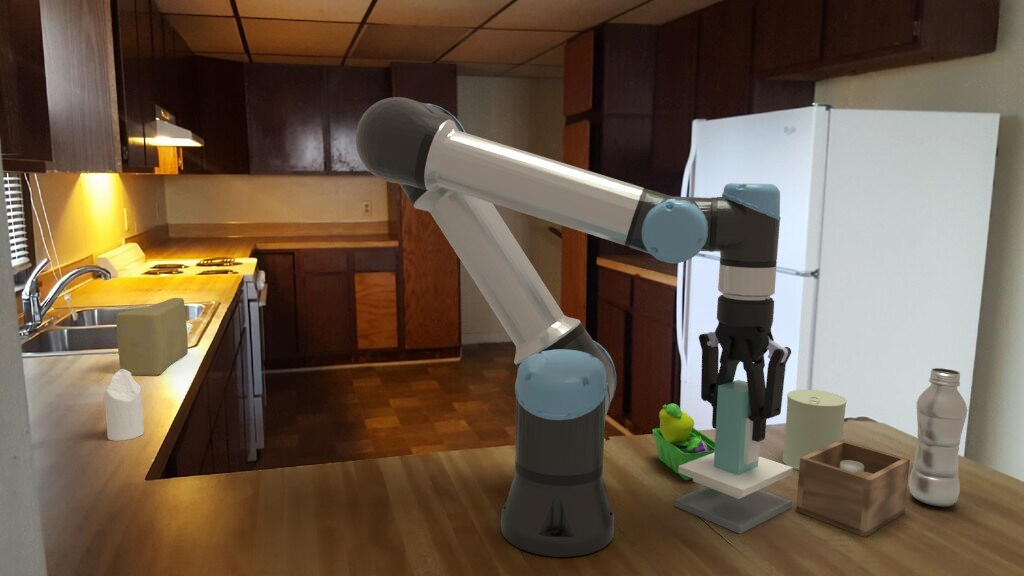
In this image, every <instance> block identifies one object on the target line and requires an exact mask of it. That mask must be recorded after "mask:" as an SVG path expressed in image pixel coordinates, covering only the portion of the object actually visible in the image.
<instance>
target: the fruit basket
mask: <svg viewBox="0 0 1024 576" xmlns="http://www.w3.org/2000/svg"><path fill="white" fill-rule="evenodd" d="M658 417H659V428H658V427H657V428H653V429H652V431H651V432H652V435H653V437H654V440H655V444H656V449H657V454H658V457H659V458H658V459H659V461H661V462H662V463H664V464H665V466H667V467H668V468H669V469H672V471H673V472H674V473H676V474H677V475H679V476H680V477H681V478H682V479H684V481H689V480H693V478H691V477H688V476H686V475H683V474H681V473H678V467H679V466H680V465H683V464H685V463H688V462H690V461H693V460H696V459H698V458H701V457H704V456H706V455H709V454H712V453H714V452H715V440H713V439H711V438H710V437H708V436H707V435H706V434H704V433H702V432H701V431H699V430H697V429H696V428H695V427H694V426H695V421H694V418H693V417H691V416H690V415H689V414H688V413H687V412H685V411H683V410H682V409H681V407H679V405H678V404H676V403H669V404H664V405H662V409H660V411H659V415H658Z"/></svg>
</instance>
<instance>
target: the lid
mask: <svg viewBox="0 0 1024 576" xmlns="http://www.w3.org/2000/svg"><path fill="white" fill-rule="evenodd" d="M748 416H751V409H750V400H749V392H748V384H747V381H746V380H745V381H744V380H740V379H737V380H734V381H733V382H729V383H726V384H722V385H719V386H718V398H717V416H716V429H715V435H714V436H715V437H714V438H715V439H714V442H715V452H714V453H712V454H709V455H706V456H704V457H701V458H698V459H696V460H693V461H690V462H688V463H685V464H683V465H680V466H679V467H678V473H681V474H683V475H686V476H688V477H691V478H693V479H692V482H694V483H696V484H699V485H701V486H703V487H704V486H706V487H709V488H712V489H714V490H717V491H719V492H722V493H725V494H727V495H730V496H732V497H735V498H738V499H740V498H742V497H744V496H746V495H749V494H751V493H753V492H755V491H757V490H759V489H760V490H762V489H763V488H766V487H768V486H770V485H773V484H774V483H776V482H779V481H781V480H783V479H785V478H787V477H790V476H792V475H794V469H793V467H790V466H787V465H786V464H785V463H780V462H777V461H774V460H771V459H768V458H765V457H762V456H760V455H759V460H757V461H755V462H752V463H750V464H745V463H743V459H744V443H745V427H746V418H748Z"/></svg>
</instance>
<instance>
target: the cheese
mask: <svg viewBox="0 0 1024 576" xmlns="http://www.w3.org/2000/svg"><path fill="white" fill-rule="evenodd" d="M184 300H185V299H184V298H181V297H172V298H169V299H166V300H163V301H162V302H158V303H155V304H151V305H149V306H146V307H142V308H137V309H131V310H125V311H121V312H118V313H116V315H115V322H116V323H115V324H116V339H117V341H116V342H117V350H118V359H119V367H120V368H119V370H120V369H125V370H127V371H129V372H131V376H144V377H145V376H147V377H153V376H154V377H155V376H160V375H161V374H162V373H163V372H164V371H165V370H167V369H168V368H169V366H171V365H172V364H174V363H175V362H178V361H179V360H181V359H182V358H184V357H185V356H186V355H188V353H189V352H188V351H189V345H188V344H189V343H188V326H187V318H186V317H187V316H186V309H185V308H186V305H185V301H184Z"/></svg>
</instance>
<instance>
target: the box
mask: <svg viewBox="0 0 1024 576" xmlns="http://www.w3.org/2000/svg"><path fill="white" fill-rule="evenodd" d="M910 462H911V460H910V458H906V457H902V456H899V455H896V454H892V453H889V452H884V451H881V450H878V449H875V448H871V447H868V446H864V445H860V444H857V443H853V442H850V441H846V440H843V439H842V440H840V441H838V442H835V443H833V444H831V445H829V446H826V447H824V448H822V449H819V450H817V451H815V452H813V453H810V454H808V455H806V456H803V457H801V458H800V466H799V470H798V478H797V479H798V480H797V494H796V506H795V511H796V512H797V513H800V514H803V515H805V516H808V517H810V518H814V519H816V520H818V521H822V523H823V522H824V523H826V524H830V525H831V526H834V527H838V528H840V529H843V530H845V531H847V532H850V533H853V534H855V535H858V536H861V537H863V538H867V537H869V536H870V535H871V534H873V533H875V532H876V531H878V530H880V529H881V528H883V527H885V526H887V525H888V524H889V523H891V522H892V521H894V520H895V519H896V520H897V518H898V517H901V516H902V515H903V514H905V512H906V505H907V503H906V501H907V495H908V494H907V492H908V485H909V472H910Z"/></svg>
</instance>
